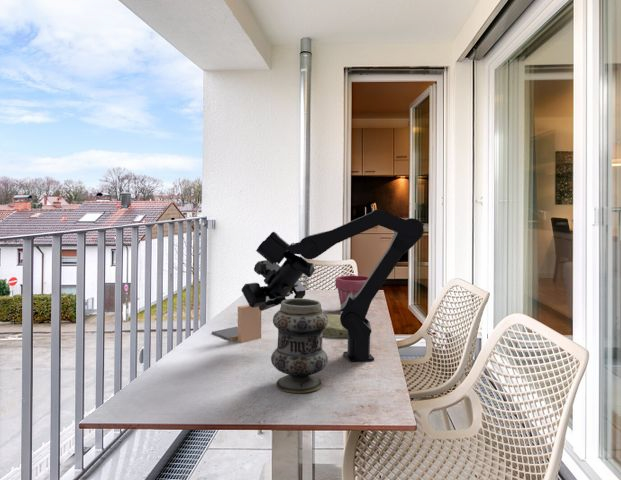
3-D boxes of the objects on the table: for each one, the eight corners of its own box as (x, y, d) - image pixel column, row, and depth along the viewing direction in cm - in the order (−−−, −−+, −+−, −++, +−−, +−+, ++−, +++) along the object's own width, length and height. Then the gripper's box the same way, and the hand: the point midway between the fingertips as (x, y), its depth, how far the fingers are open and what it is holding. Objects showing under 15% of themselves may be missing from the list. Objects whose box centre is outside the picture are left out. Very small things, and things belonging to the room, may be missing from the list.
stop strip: (259, 335, 132) (259, 331, 132) (231, 341, 125) (231, 337, 125) (257, 334, 133) (257, 330, 133) (229, 340, 126) (229, 336, 125)
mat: (256, 334, 132) (256, 333, 132) (231, 340, 126) (231, 338, 126) (236, 328, 139) (236, 326, 139) (211, 333, 133) (211, 331, 133)
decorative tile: (307, 321, 152) (307, 310, 151) (365, 325, 148) (365, 314, 147) (293, 336, 133) (293, 324, 133) (360, 341, 129) (360, 329, 129)
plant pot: (328, 308, 169) (329, 275, 168) (361, 306, 174) (362, 274, 173) (344, 317, 156) (345, 281, 155) (379, 314, 160) (380, 279, 160)
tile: (261, 337, 129) (261, 304, 128) (241, 342, 124) (241, 307, 123) (256, 336, 131) (256, 302, 130) (237, 341, 126) (237, 306, 125)
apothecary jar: (338, 384, 95) (340, 301, 94) (300, 401, 86) (301, 310, 85) (298, 370, 103) (299, 294, 102) (259, 384, 94) (259, 301, 93)
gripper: (299, 249, 125) (272, 283, 133) (246, 252, 111) (220, 290, 120) (319, 280, 120) (290, 313, 128) (266, 288, 106) (238, 324, 115)
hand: (260, 309), depth 123 cm, fingers closed
